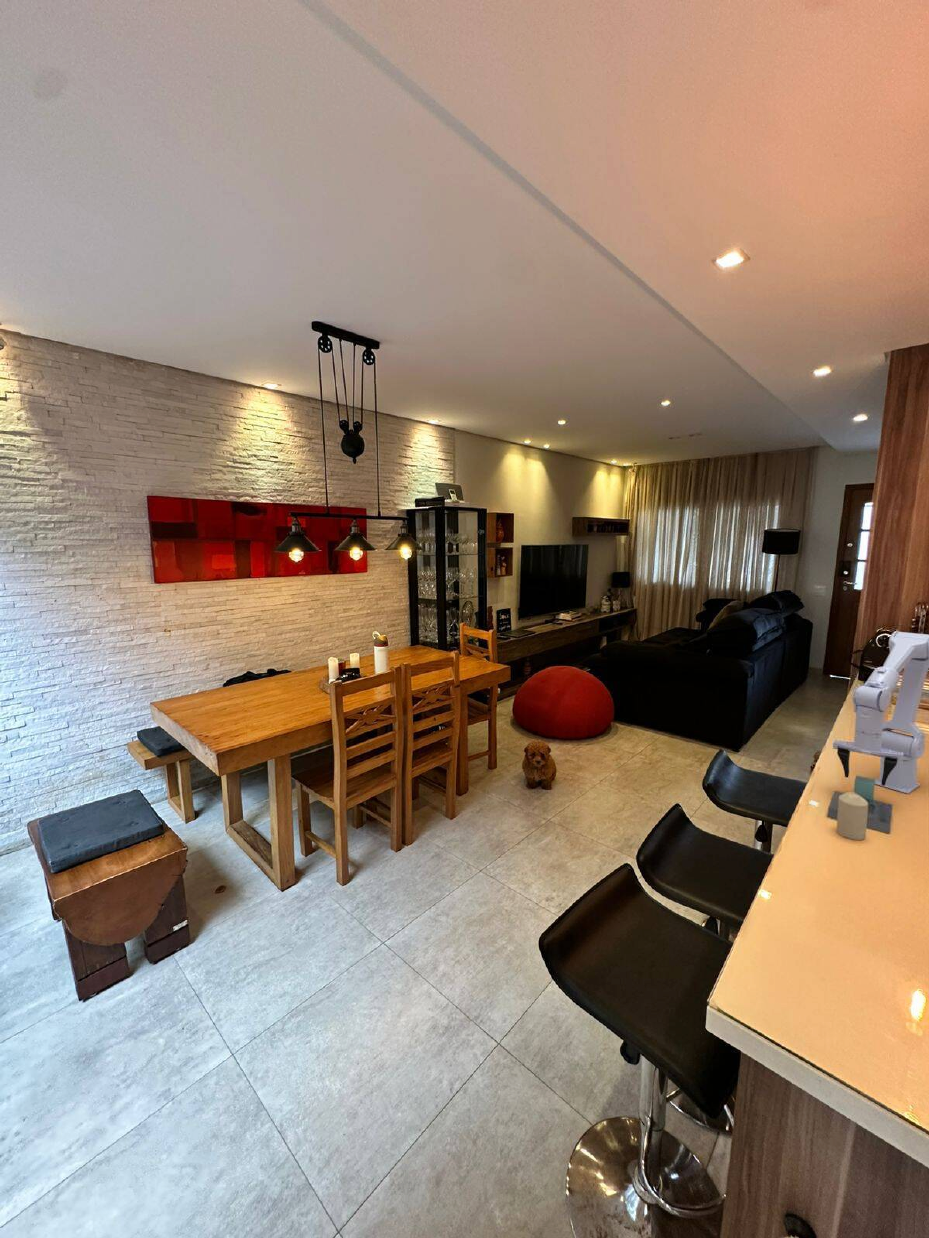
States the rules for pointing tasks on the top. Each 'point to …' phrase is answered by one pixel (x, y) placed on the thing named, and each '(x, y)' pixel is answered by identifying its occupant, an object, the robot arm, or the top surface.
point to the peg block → (864, 787)
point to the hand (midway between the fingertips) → (864, 780)
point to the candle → (852, 816)
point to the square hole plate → (876, 813)
